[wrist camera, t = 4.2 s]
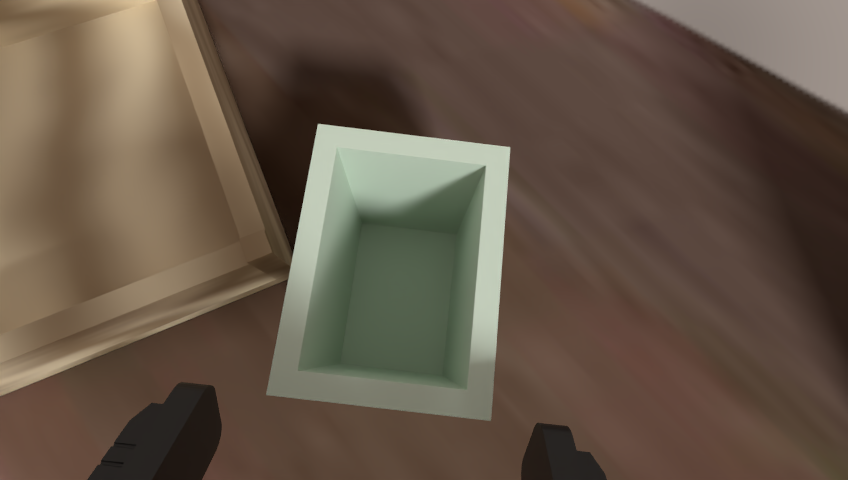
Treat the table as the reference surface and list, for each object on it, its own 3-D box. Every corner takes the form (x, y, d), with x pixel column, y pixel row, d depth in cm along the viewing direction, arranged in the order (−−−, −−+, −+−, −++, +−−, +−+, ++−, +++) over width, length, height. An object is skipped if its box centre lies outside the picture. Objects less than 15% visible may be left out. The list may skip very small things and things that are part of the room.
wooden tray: (192, -14, 25) (145, -96, 21) (300, 274, 22) (272, 252, 17) (-111, 79, 23) (-239, 11, 19) (-49, 416, 20) (-191, 436, 15)
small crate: (469, 226, 23) (510, 147, 14) (454, 392, 21) (490, 420, 12) (351, 212, 23) (318, 123, 14) (325, 377, 21) (266, 394, 12)
